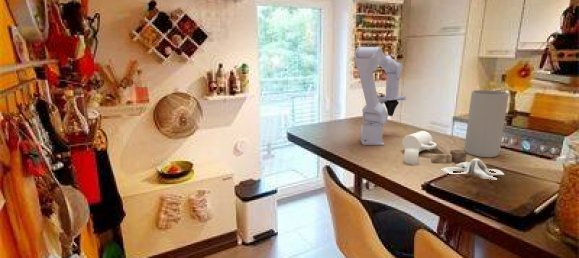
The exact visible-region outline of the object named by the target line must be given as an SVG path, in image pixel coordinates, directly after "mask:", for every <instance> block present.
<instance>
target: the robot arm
mask: <svg viewBox="0 0 579 258" xmlns="http://www.w3.org/2000/svg"><path fill="white" fill-rule="evenodd" d="M353 58H354V61H355V62H354V63H355V66H356V69H357V70H358V76H359V79H360V84H361V88H362V93H363V96H364V99H365V105H364V106H363V108H362V110H361V111H362V120H363V121H364V123H361V124H360V139H359V141H360V142H361V144H362V145H363V146H384V145H385V143H384V141H383V128H384V126H383V125H385V124H386V123H387V122H388V117H393V116H394V113H395V110H396V109H397V107H398V105H399V101H406V96H405V95H399V87H400V79H401V76H402V71H403V64H402V63H401V62H398V61H396V60H395V59H393V58H392V57H391V55H389V54H387V55H385V54H384V52H383V48H382V47H380V46H358V47H357V48H356V49H355V52H354V56H353ZM379 66H380V67H381V69H383V70H384V73H385V75H386V79H385V80H386V82H385V94H384V96H381V97H380V96H378V93H377V88H376V83H375V79H374V75H373V72H375V71H377V70H378V67H379ZM381 103H383V104H384V105H383V104H381Z"/></svg>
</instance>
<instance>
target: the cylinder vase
mask: <svg viewBox="0 0 579 258" xmlns="http://www.w3.org/2000/svg"><path fill="white" fill-rule="evenodd" d="M509 96H510V94H509V92H506V91H503V90H501V91H500V90H493V89H492V90H490V89H489V90H488V89H477V90H476V89H475V90H471V96H470V104H469V109H468V110H469V111H468V118H467V127H466V133H465V138H464V139H465V140H464V147H463V149H464V152H466V153H467V154H469V155H472V156H475V157H479V158H480V157H481V158H495V157H498V156H499V155H500V152H501V145H502V140H503V132H504V127H505V120H506V115H507V108H508V102H509Z"/></svg>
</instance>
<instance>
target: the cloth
mask: <svg viewBox="0 0 579 258" xmlns="http://www.w3.org/2000/svg"><path fill="white" fill-rule="evenodd" d="M460 166H461V167H460ZM462 167H464V168H462ZM439 170H440V171H441V170H442V171H443V172H442V171H441V172H442V173H444V172H445V173H449V174H469V173H472V174H473V175H475V176H478V177H480V178H482V179H489V180H490V179H491V180H497V179H498V177H493V176H494V175H505V173H504V172H503V171H502V170H499V169H496V168H488V167H487V165H486V164H485V163H484V162H483V161H482V160H481V159H480V158H477V157H476V158H473V159H471V161H470V162H468V161H466V162H462V163H456V166H448V167H447V166H446V167H443V168H441V169H439ZM490 170H491V171H494V172H496V173H491V172H489V171H490ZM453 171H464V172H461V173H453ZM445 173H444V174H445Z"/></svg>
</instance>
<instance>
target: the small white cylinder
mask: <svg viewBox="0 0 579 258" xmlns="http://www.w3.org/2000/svg"><path fill="white" fill-rule="evenodd" d="M419 153H420V152H419V150H418V149H415V148H406V149H405V150H404V156H403V157H404V158H403V163H404V164H406V165H413V166H414V165H417V164H419V163H418V162H419Z"/></svg>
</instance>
